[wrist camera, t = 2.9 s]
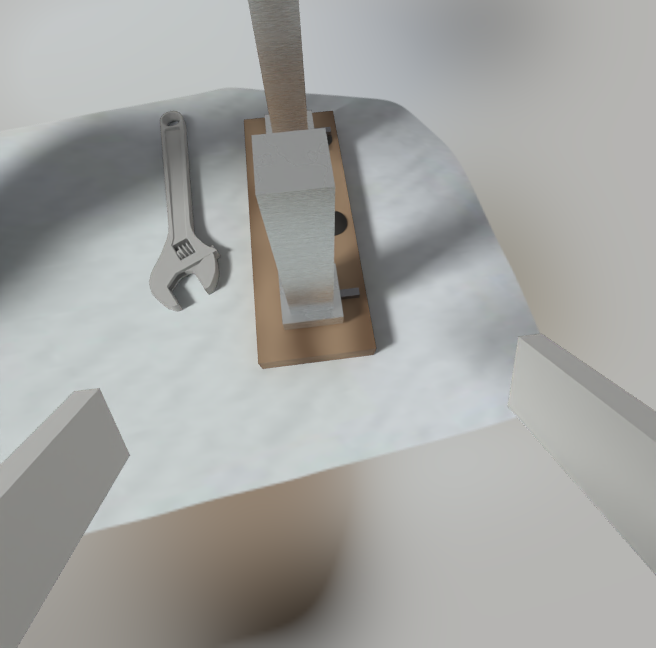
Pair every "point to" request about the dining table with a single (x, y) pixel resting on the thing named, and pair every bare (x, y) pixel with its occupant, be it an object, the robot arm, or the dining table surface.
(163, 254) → the adjustable wrench
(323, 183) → the block
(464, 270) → the dining table surface
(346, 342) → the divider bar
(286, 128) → the fixed leg
